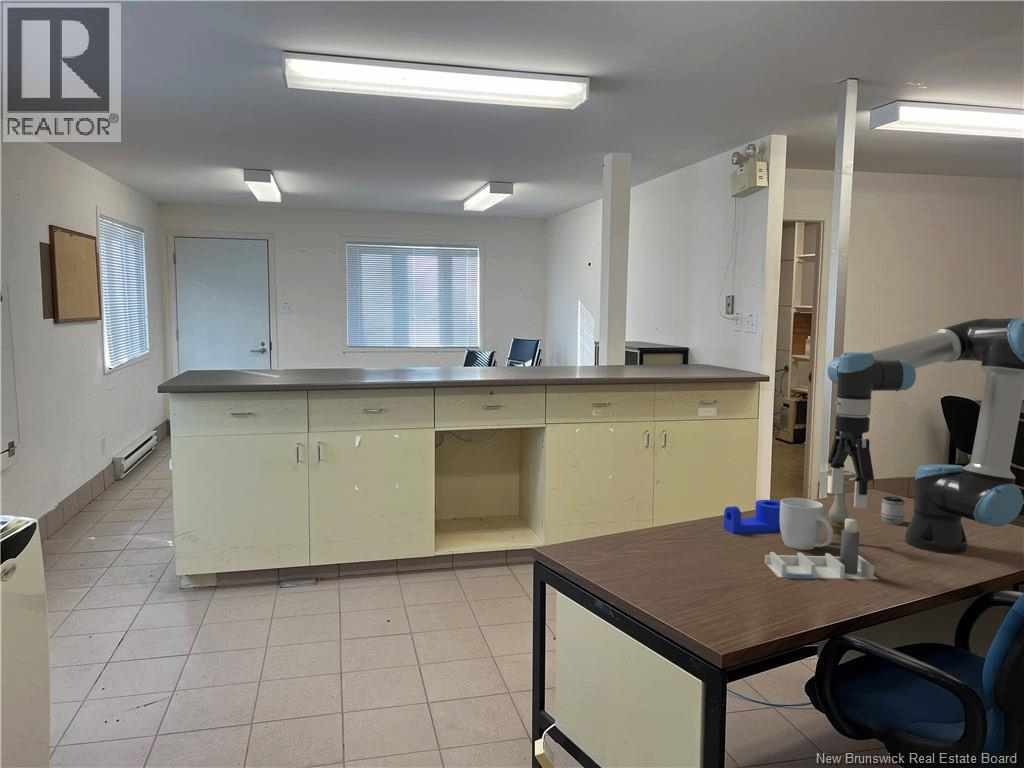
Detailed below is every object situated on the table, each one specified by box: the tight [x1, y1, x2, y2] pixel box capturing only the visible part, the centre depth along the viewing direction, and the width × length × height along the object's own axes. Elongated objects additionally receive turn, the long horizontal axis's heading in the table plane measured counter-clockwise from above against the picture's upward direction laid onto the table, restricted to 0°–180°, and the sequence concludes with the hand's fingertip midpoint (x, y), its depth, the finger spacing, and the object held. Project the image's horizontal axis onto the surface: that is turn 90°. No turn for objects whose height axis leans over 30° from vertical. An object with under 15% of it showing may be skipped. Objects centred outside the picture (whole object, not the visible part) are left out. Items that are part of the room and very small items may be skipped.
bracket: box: [723, 499, 781, 534], centre depth 211 cm, size 20×9×8 cm, turn 108°
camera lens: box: [880, 496, 906, 526], centre depth 219 cm, size 6×6×8 cm
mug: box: [780, 497, 833, 551], centre depth 191 cm, size 15×11×13 cm
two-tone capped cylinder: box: [839, 518, 860, 574], centre depth 172 cm, size 4×4×13 cm
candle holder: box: [820, 469, 857, 547], centre depth 198 cm, size 9×9×20 cm
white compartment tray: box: [764, 551, 879, 580], centre depth 172 cm, size 24×11×4 cm, turn 88°
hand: (847, 500), depth 172 cm, fingers open, 13 cm apart
